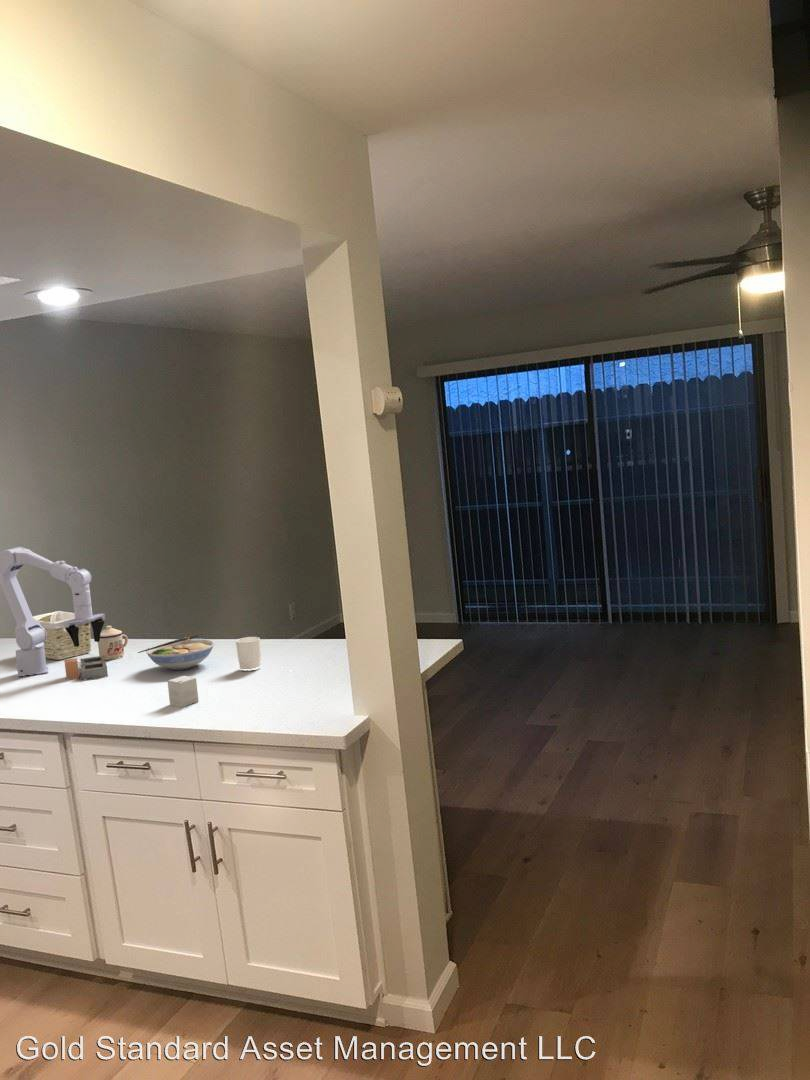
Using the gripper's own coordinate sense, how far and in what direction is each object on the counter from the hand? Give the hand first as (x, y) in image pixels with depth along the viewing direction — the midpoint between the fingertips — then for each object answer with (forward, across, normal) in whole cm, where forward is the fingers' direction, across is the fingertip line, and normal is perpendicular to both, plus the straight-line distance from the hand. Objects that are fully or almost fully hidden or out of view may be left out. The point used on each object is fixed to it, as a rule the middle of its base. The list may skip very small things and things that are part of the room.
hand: (86, 643), depth 311 cm
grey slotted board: (+10, 0, -2) cm, 10 cm away
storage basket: (+10, +9, +37) cm, 40 cm away
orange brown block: (+10, -8, -2) cm, 13 cm away
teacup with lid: (+10, +17, +12) cm, 23 cm away
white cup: (+10, +28, -52) cm, 60 cm away
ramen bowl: (+10, +18, -28) cm, 35 cm away
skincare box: (+10, -8, -65) cm, 66 cm away
